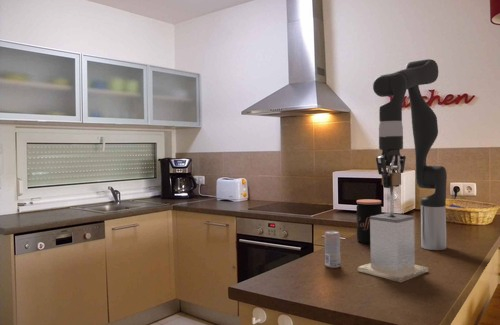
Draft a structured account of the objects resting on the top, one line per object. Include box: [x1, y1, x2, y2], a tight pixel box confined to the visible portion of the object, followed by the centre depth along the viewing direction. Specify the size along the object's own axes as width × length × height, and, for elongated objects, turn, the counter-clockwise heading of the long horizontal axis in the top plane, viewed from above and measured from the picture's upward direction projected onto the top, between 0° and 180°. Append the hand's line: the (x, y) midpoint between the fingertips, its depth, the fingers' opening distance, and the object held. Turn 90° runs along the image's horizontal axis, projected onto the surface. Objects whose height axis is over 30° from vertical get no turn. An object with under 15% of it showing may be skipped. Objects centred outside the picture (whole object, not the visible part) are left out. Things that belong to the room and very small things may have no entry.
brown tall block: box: [381, 171, 402, 217], centre depth 138 cm, size 7×7×21 cm
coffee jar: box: [356, 198, 383, 245], centre depth 183 cm, size 11×11×18 cm
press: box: [357, 212, 429, 283], centre depth 139 cm, size 16×16×18 cm
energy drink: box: [324, 230, 341, 269], centre depth 147 cm, size 5×5×12 cm
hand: (391, 186), depth 138 cm, fingers closed on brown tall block, 4 cm apart
